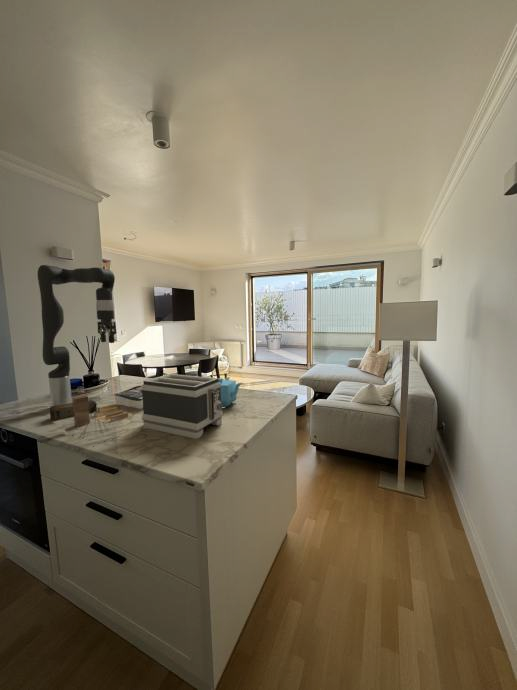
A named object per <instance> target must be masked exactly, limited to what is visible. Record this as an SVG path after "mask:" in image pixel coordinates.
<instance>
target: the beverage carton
mask: <svg viewBox="0 0 517 690" xmlns="http://www.w3.org/2000/svg"><path fill="white" fill-rule="evenodd" d="M88 405H89V414H90V413H94V412H96V411H98V409H97V407H98V406H97V402H96V400H95V399H88ZM49 409H50V410H49V417H50V421H51V423H54V422H57V421H62V420H65V419H69V418H72V417H73V418H74V410H73V402H72V403H69V404H62V405H56V406H51V405H50V408H49Z"/></svg>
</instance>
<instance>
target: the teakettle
mask: <svg viewBox="0 0 517 690" xmlns="http://www.w3.org/2000/svg"><path fill="white" fill-rule="evenodd" d="M218 379H219V382H220V383H221V387H220V389H221V404H222V407H226V406H227V407H229V406H230V405H232V404H233V403H234V402H235V401H236V400H237V394H238V392H239V388H240V386H241V385H243V384H244V382H237V380H234V379H233V380H230V376H227V377H226V378H225V379H224V378H223V377H219V378H218ZM231 403H232V404H231Z"/></svg>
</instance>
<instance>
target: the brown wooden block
mask: <svg viewBox="0 0 517 690" xmlns="http://www.w3.org/2000/svg"><path fill="white" fill-rule="evenodd" d="M88 400H89V396H88V395H85V394H84V395H80V396H76V397H72V403H73V410H74V416H73V418H74V420H73V421H74V422H73V423H74V426H75V427H81V426H85V425H89V424H91V422H90V420H91V419H90V417H91V416H90V413H89V405H88Z"/></svg>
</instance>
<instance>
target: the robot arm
mask: <svg viewBox="0 0 517 690" xmlns="http://www.w3.org/2000/svg"><path fill="white" fill-rule="evenodd" d="M115 278H116V277H115V274H114V272H113V271H112V270H111V269H107V268H103V267H89V268H85V267H83V268H82V267H81V268H74V269H66V268H62V267H58V266H54V265H47V264H40V266H39V267H38V269H37V281H38V287H39V294H40V303H41V305H40V306H41V322H42V338H43V339H42V353H41V354H42V360H43V363H44V364H45V365H46V366H55V365H57V366H56V368H53V369H52V370H50V371H49V372H48V383H49V384H48V385H49V395H50V396H49V397H50V407H51V406H56V405H62V404H69V403H73V397H72V390H71V389H72V388H71V380H70V379H71V378H70V369H71V364H70V363H71V362H70V361H71V360H70V359H71V358H70V351H69V349H68V348H67V347H66V346H55V345H54V344H55V339H56V337H57V335H58V333H59V332H60V331H61V329H62V328H63V326H64V321H65V320H64V319H65V317H64V309H63V307H62V305H61V304H60V302H59V300H58V299H57V298H56V296H55V294H54V289H53V285H55V286H56V285H57V286H59V285H64V284H70V283H80V284H91V283H97V284H98V283H99V284H101V287H99V288H96V290H95V298H96V304H95V305H96V319H97V320H99V321H97V322H96V324H97V333H98V334H99V335H100V342H101V343H106V342H107V336H106V334H107V333H108V342H109V344H114V343H115V335H116V334H117V326H116V325H117V324H116V321H113V320H114V319H115V306H114V300H113V290H114V286H115V281H116V279H115Z"/></svg>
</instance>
